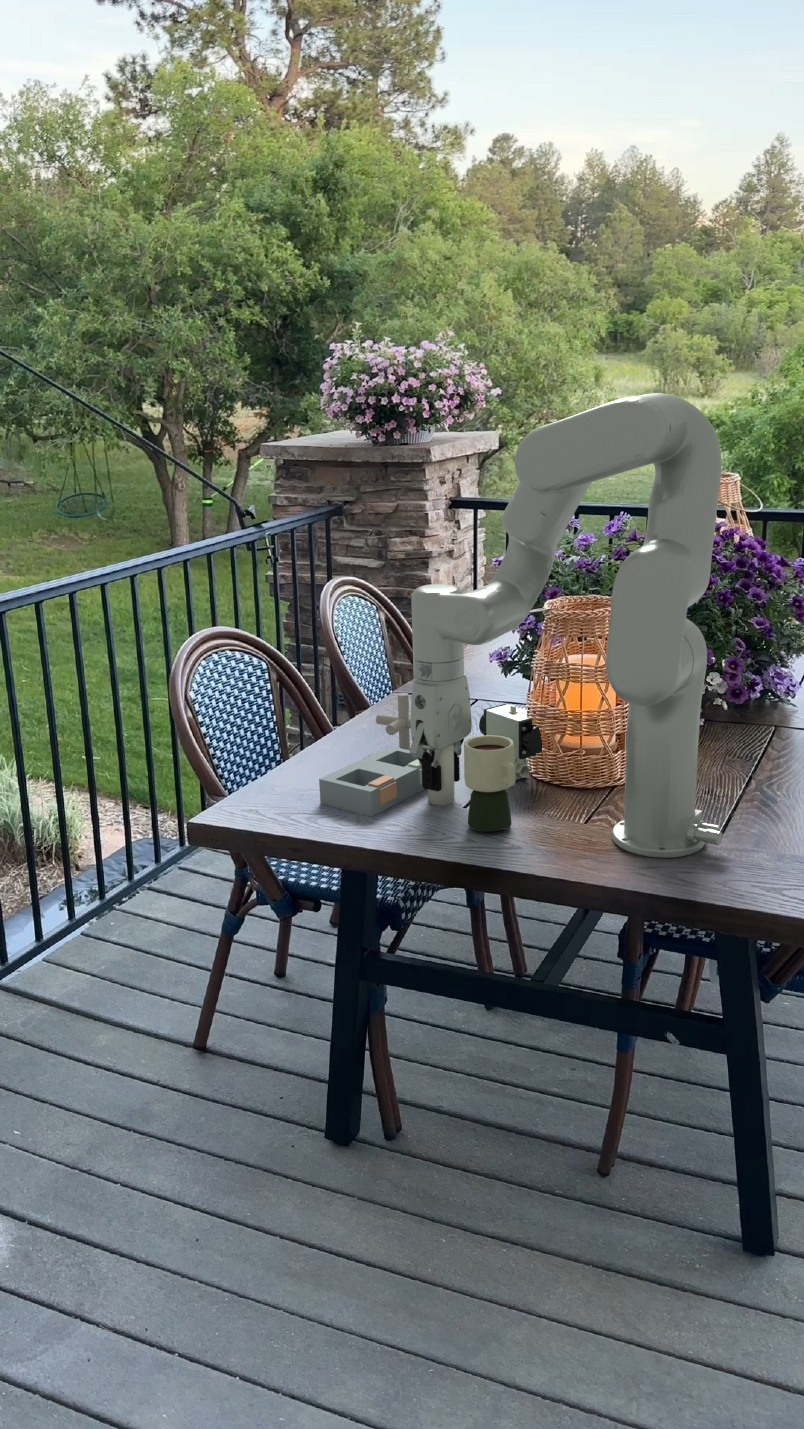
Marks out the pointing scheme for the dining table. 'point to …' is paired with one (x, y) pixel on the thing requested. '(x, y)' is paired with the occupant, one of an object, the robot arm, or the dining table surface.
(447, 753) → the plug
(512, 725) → the pneumatic valve
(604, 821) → the dining table surface
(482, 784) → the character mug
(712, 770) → the dining table surface
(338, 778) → the socket block
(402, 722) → the pipe connector
